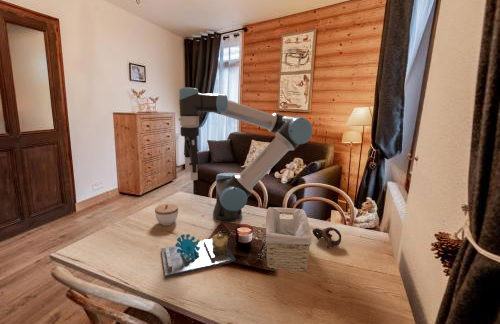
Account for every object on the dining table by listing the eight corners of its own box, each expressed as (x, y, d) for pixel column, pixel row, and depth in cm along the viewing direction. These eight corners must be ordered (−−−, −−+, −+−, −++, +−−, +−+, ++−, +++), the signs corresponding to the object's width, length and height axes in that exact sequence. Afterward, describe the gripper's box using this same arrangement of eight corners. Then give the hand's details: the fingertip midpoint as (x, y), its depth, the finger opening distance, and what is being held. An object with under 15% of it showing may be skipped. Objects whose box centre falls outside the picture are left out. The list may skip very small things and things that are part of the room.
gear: (184, 262, 87) (173, 237, 90) (176, 269, 90) (164, 244, 93) (207, 252, 96) (195, 229, 99) (198, 258, 99) (187, 236, 102)
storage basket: (309, 275, 87) (313, 237, 83) (263, 271, 88) (264, 233, 85) (302, 239, 110) (305, 208, 107) (266, 236, 111) (267, 206, 108)
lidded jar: (183, 221, 124) (182, 203, 122) (165, 230, 115) (164, 211, 113) (168, 215, 129) (167, 198, 127) (151, 223, 120) (149, 205, 118)
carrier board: (222, 239, 108) (222, 223, 106) (235, 261, 93) (235, 244, 91) (161, 251, 98) (160, 234, 97) (165, 278, 83) (164, 258, 82)
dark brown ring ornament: (337, 239, 112) (344, 229, 106) (335, 257, 105) (342, 248, 99) (311, 229, 114) (316, 218, 108) (307, 246, 107) (313, 236, 101)
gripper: (176, 124, 113) (178, 169, 118) (185, 129, 91) (187, 184, 96) (193, 123, 116) (194, 167, 121) (205, 129, 94) (206, 182, 99)
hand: (191, 175), depth 108 cm, fingers open, 13 cm apart
